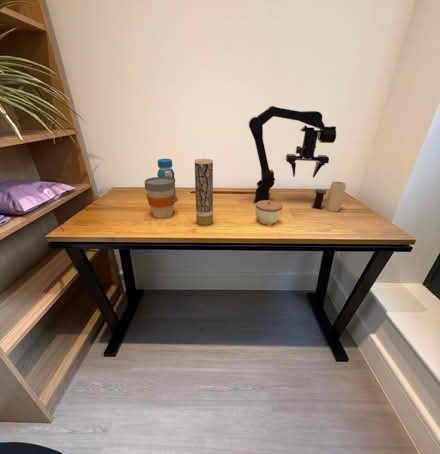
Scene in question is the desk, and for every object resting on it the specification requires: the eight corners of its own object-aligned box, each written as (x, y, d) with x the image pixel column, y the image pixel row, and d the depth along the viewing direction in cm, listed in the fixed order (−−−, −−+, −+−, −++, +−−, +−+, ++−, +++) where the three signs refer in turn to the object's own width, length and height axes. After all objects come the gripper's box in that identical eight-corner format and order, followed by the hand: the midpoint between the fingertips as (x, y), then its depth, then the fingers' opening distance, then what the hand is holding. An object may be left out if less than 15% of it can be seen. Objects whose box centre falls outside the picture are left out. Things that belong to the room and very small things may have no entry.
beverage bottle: (157, 202, 125) (152, 161, 115) (163, 197, 132) (159, 157, 122) (173, 204, 123) (170, 162, 114) (178, 198, 131) (176, 158, 121)
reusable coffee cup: (142, 216, 109) (137, 182, 102) (158, 207, 119) (154, 175, 112) (168, 221, 105) (164, 186, 98) (181, 211, 116) (179, 178, 108)
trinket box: (282, 227, 102) (285, 205, 97) (255, 226, 102) (257, 205, 97) (277, 217, 111) (280, 196, 107) (253, 216, 111) (254, 196, 107)
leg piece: (311, 208, 121) (315, 192, 117) (312, 204, 125) (315, 189, 121) (322, 209, 120) (325, 193, 116) (322, 206, 124) (326, 190, 120)
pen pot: (325, 210, 119) (331, 184, 113) (325, 205, 124) (331, 180, 118) (339, 212, 117) (346, 185, 111) (339, 207, 122) (346, 182, 116)
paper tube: (206, 227, 101) (206, 163, 89) (193, 223, 104) (190, 160, 92) (215, 221, 106) (216, 160, 94) (202, 217, 109) (201, 158, 97)
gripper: (326, 140, 120) (319, 173, 128) (286, 139, 122) (282, 172, 129) (332, 144, 110) (324, 179, 118) (289, 142, 112) (284, 177, 120)
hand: (303, 177), depth 121 cm, fingers open, 9 cm apart
